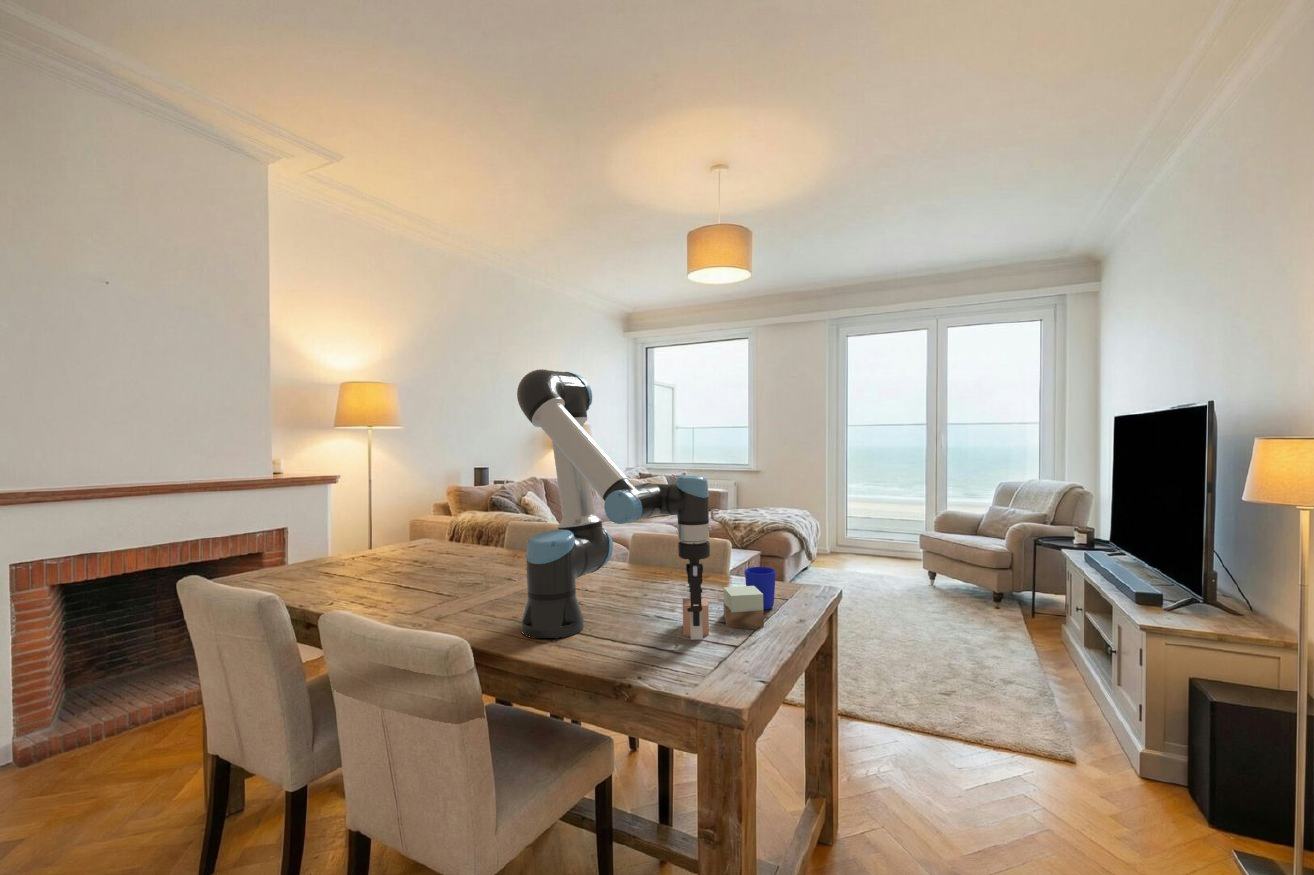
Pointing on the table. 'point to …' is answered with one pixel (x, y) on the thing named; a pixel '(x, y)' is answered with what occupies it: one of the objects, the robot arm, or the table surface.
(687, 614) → the clay block
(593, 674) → the table surface
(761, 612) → the riser lower
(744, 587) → the block
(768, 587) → the mug
